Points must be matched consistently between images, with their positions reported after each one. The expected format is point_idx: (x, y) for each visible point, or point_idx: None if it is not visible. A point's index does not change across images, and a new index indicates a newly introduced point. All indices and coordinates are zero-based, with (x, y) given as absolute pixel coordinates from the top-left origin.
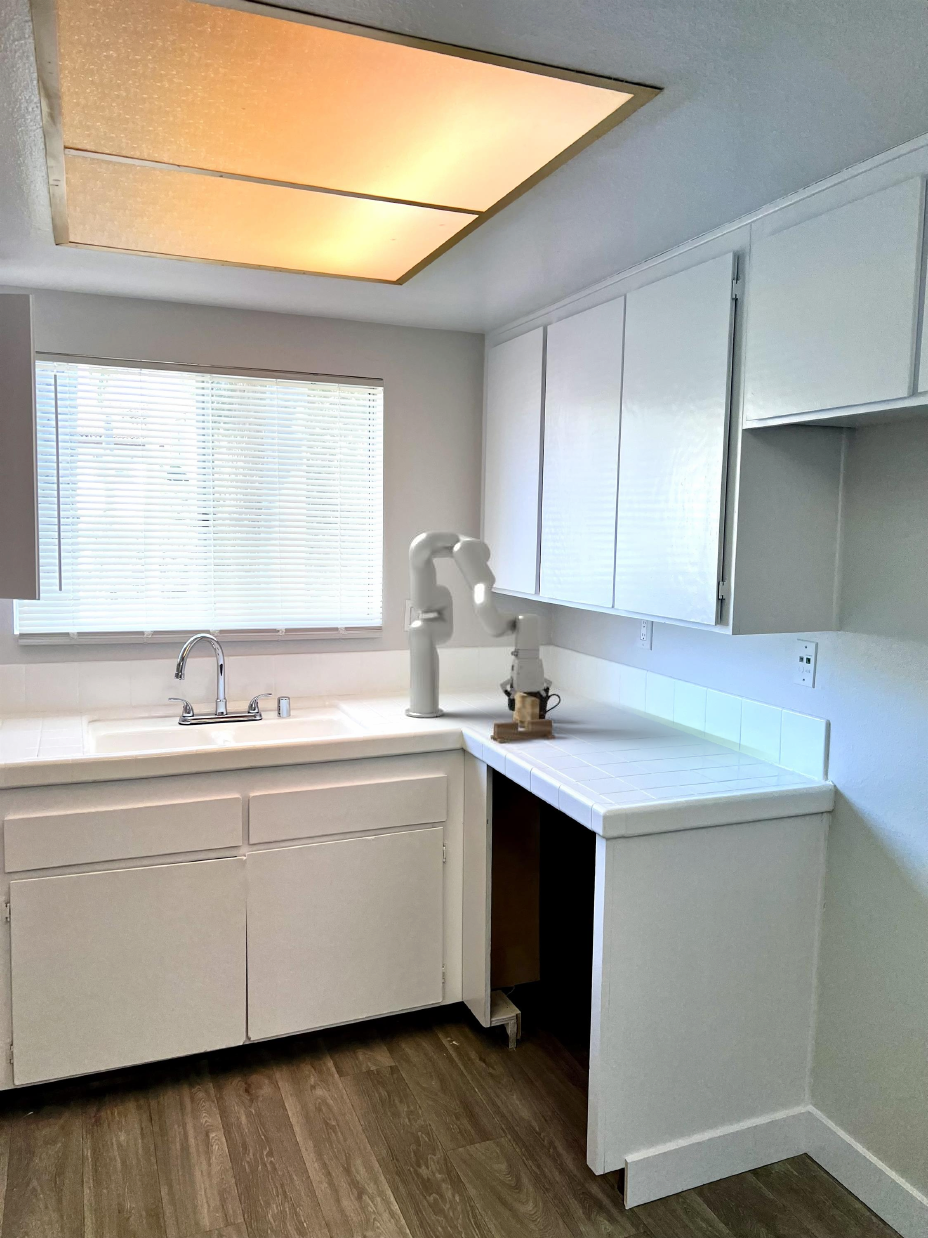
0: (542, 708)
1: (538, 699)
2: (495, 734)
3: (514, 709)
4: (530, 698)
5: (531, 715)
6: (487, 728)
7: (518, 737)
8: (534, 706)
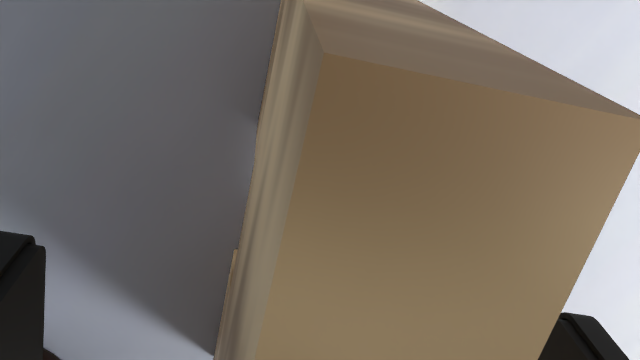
0: (10, 236)
1: (351, 62)
2: None
3: (583, 328)
4: (469, 331)
5: (452, 23)
6: None
7: None
8: (443, 44)
